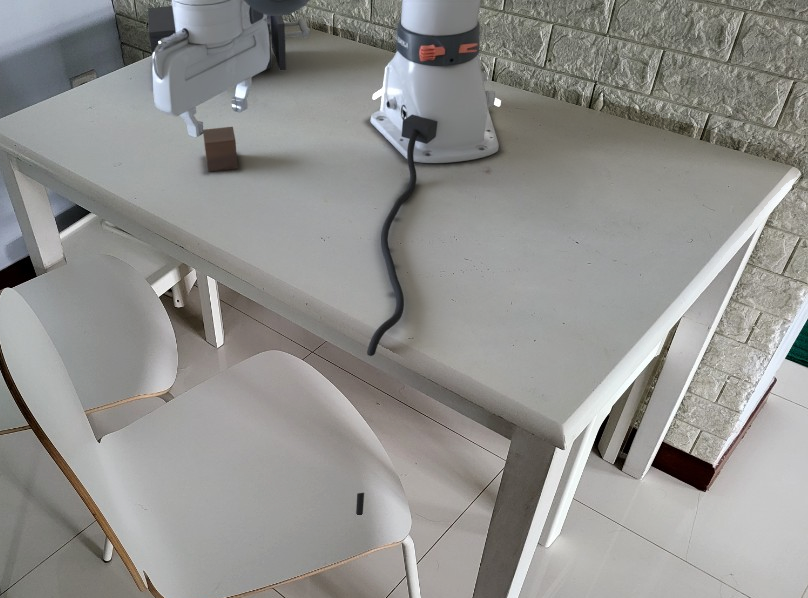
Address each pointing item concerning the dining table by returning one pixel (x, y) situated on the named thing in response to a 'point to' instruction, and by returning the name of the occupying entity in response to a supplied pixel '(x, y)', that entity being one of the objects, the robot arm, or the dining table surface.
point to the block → (220, 149)
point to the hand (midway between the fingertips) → (218, 122)
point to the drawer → (283, 38)
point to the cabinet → (160, 24)
